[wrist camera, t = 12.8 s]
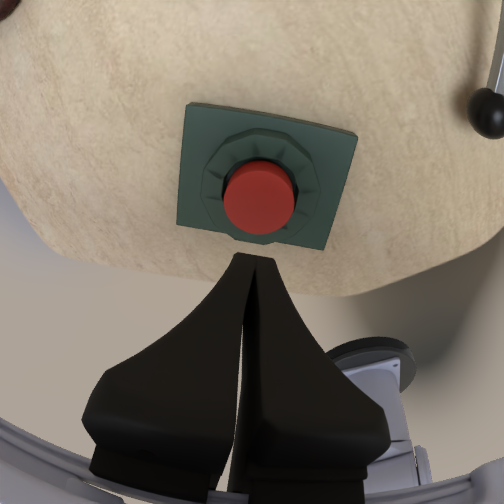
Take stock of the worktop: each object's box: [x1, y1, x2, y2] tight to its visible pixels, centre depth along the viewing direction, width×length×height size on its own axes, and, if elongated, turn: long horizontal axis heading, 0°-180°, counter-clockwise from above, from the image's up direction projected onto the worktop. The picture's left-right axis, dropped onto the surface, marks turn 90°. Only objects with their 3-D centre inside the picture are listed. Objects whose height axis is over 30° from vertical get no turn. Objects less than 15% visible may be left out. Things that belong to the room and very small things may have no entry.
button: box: [224, 161, 294, 234], centre depth 17 cm, size 4×4×2 cm
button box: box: [176, 103, 358, 250], centre depth 19 cm, size 10×8×3 cm
